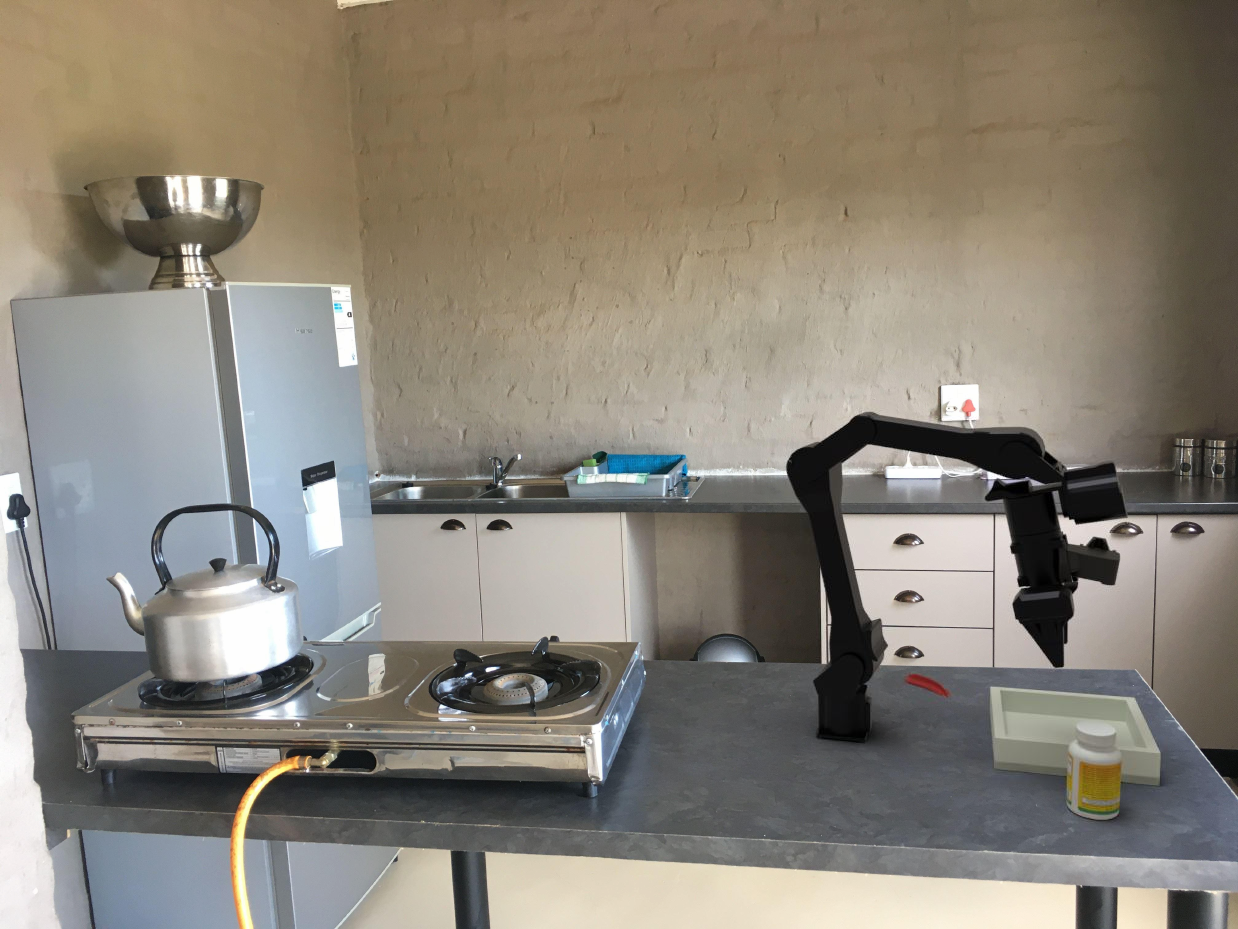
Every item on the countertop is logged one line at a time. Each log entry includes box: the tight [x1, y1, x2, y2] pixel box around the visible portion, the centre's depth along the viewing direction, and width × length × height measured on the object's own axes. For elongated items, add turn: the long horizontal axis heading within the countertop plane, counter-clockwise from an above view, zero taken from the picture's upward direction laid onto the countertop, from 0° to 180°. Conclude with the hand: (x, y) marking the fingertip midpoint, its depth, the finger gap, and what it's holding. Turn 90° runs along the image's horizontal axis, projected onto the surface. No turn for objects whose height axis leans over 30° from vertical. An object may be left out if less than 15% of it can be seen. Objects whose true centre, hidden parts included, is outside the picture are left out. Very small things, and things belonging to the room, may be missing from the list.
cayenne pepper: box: [904, 673, 951, 699], centre depth 149 cm, size 12×5×2 cm, turn 3°
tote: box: [989, 685, 1162, 787], centre depth 126 cm, size 18×18×4 cm
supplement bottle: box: [1065, 721, 1122, 821], centre depth 109 cm, size 5×5×10 cm
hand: (1061, 655), depth 119 cm, fingers open, 9 cm apart
